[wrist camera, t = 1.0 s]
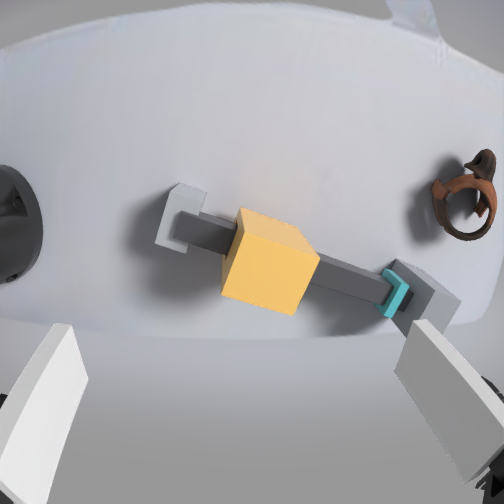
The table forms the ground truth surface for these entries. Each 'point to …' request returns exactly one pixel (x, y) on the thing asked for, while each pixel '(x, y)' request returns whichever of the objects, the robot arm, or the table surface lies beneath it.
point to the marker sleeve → (267, 263)
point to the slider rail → (327, 271)
